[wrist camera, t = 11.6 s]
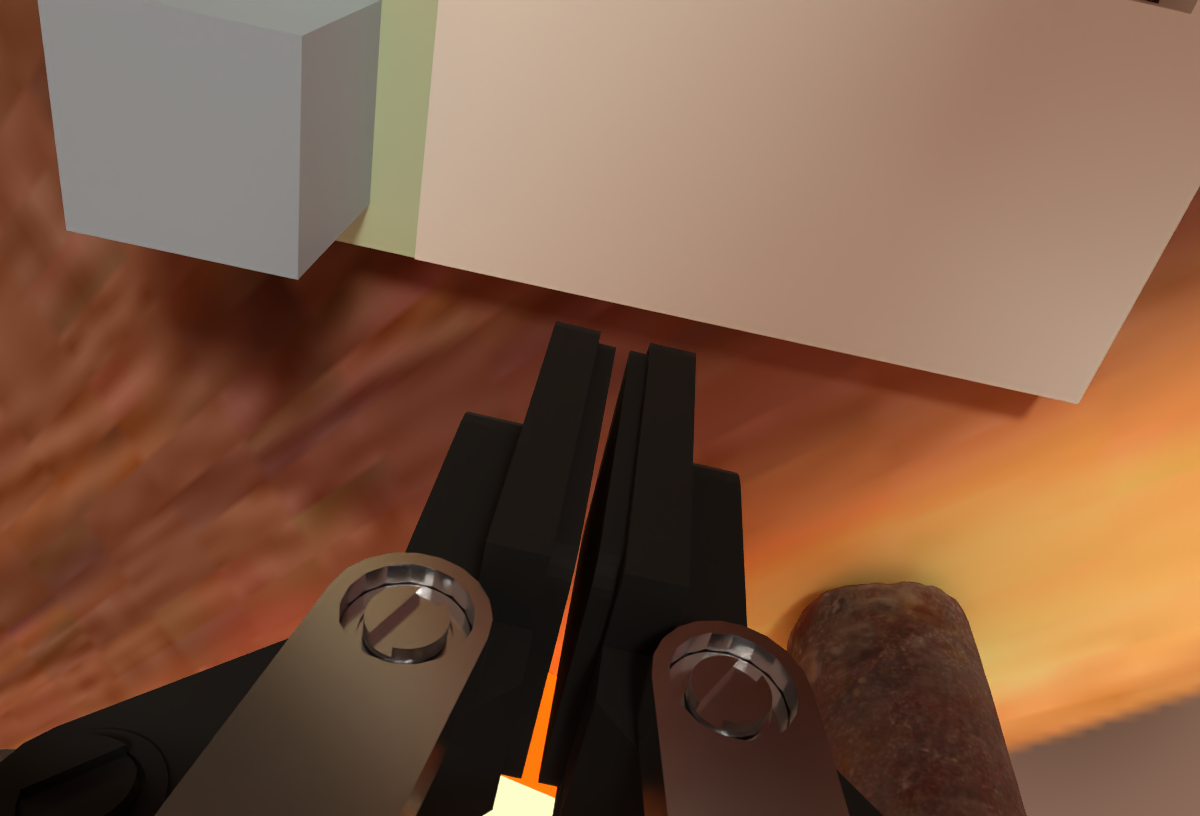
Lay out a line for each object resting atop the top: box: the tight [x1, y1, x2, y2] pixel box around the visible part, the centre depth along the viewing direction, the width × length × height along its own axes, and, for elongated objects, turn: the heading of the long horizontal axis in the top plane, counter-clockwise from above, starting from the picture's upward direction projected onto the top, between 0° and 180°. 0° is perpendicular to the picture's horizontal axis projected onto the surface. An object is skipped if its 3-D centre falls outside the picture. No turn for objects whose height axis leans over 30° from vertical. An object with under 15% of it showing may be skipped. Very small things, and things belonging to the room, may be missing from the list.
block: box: [38, 0, 382, 280], centre depth 24 cm, size 6×6×6 cm
